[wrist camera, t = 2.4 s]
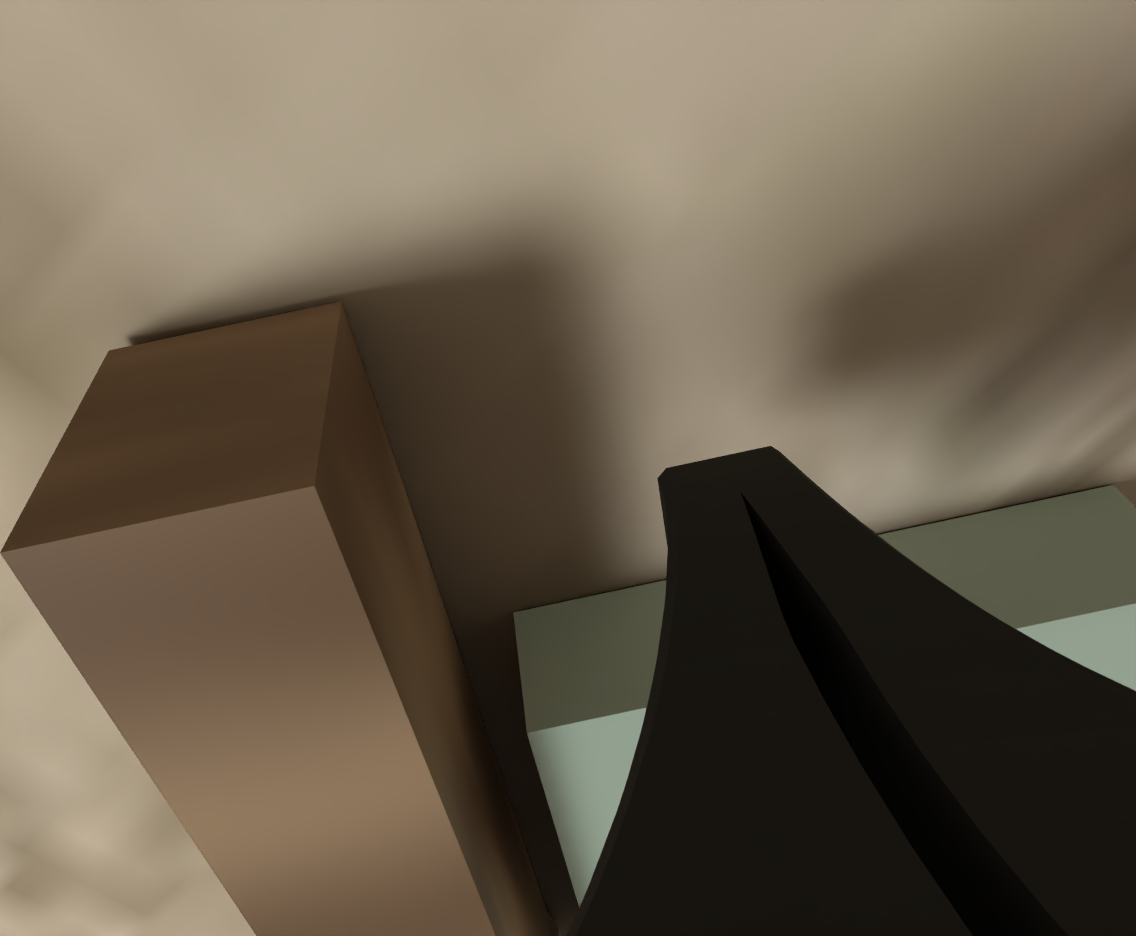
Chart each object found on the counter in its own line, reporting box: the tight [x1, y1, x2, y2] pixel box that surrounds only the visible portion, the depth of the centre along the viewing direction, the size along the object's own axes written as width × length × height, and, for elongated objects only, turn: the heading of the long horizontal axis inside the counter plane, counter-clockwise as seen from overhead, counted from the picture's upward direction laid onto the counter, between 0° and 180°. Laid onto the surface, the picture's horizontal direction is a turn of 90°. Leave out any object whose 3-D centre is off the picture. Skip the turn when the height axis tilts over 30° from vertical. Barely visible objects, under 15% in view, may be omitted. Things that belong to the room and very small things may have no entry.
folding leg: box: [0, 301, 559, 936], centre depth 16 cm, size 17×3×4 cm, turn 10°
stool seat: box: [513, 485, 1136, 907], centre depth 18 cm, size 10×10×2 cm
